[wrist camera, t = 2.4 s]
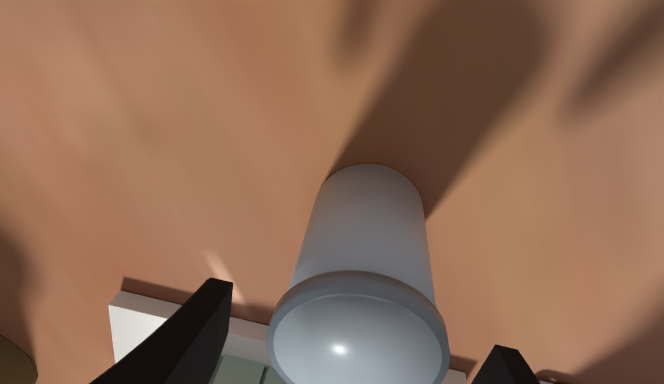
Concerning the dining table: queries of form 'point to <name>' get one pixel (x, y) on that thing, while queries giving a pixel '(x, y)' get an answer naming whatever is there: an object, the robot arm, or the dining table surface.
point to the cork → (15, 365)
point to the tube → (361, 289)
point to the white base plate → (238, 352)
